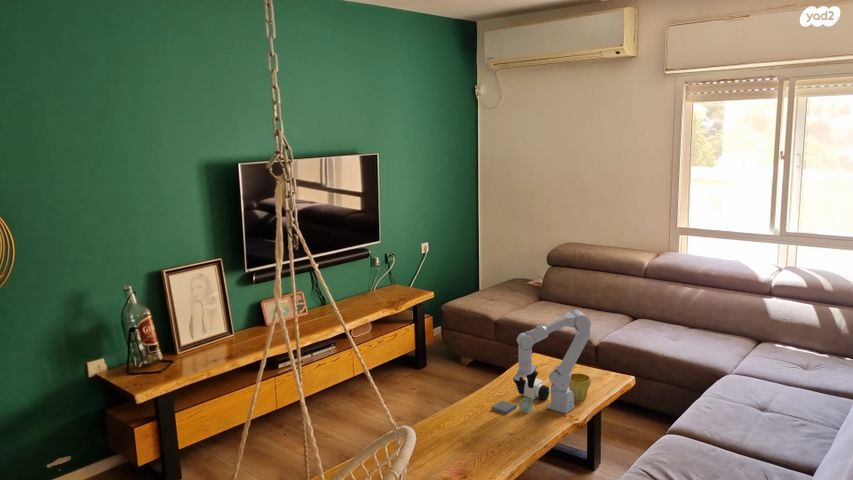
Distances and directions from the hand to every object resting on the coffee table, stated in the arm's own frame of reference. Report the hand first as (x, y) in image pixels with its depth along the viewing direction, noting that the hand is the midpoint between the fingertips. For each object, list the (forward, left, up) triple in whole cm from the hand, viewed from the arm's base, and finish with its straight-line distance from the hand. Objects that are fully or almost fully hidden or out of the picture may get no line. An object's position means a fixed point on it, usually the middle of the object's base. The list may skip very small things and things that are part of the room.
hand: (526, 390), depth 283 cm
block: (+9, +4, -10) cm, 14 cm away
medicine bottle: (+10, -15, -5) cm, 19 cm away
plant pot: (-12, -25, -10) cm, 29 cm away
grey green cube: (0, 0, -10) cm, 10 cm away
